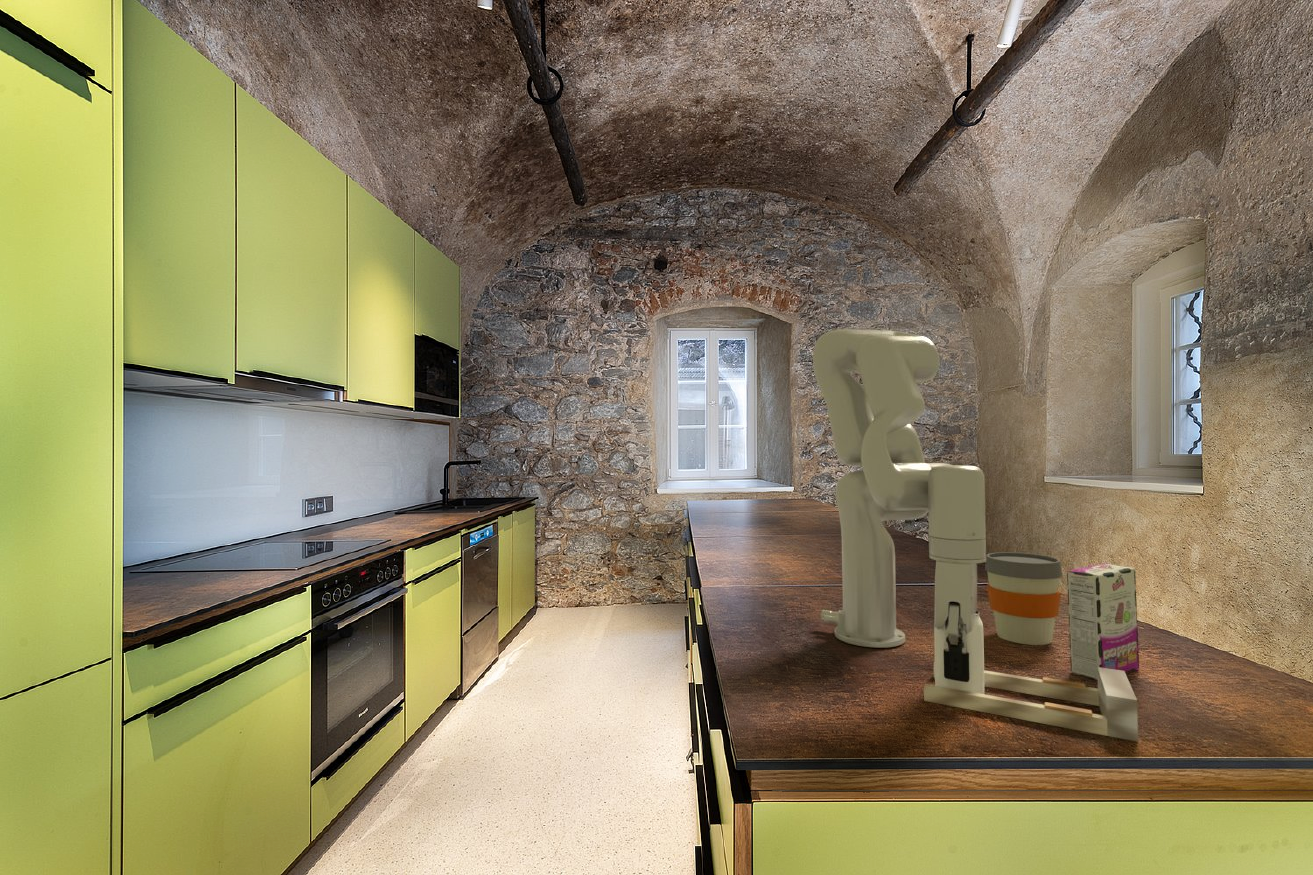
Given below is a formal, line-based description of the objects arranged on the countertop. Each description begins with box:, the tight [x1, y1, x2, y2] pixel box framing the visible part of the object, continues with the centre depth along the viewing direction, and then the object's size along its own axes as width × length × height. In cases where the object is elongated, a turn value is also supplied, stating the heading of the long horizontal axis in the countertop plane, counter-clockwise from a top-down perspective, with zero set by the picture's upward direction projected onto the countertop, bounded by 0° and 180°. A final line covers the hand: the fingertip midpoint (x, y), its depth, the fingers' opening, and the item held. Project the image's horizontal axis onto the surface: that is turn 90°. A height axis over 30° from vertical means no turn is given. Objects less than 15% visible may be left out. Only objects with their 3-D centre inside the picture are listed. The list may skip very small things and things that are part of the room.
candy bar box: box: [1066, 563, 1141, 681], centre depth 98 cm, size 11×5×16 cm, turn 117°
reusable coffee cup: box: [984, 551, 1063, 646], centre depth 115 cm, size 12×12×15 cm
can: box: [933, 609, 985, 694], centre depth 89 cm, size 6×6×12 cm
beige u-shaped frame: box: [923, 661, 1139, 742], centre depth 85 cm, size 24×11×5 cm, turn 59°
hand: (959, 670), depth 89 cm, fingers closed on can, 6 cm apart
